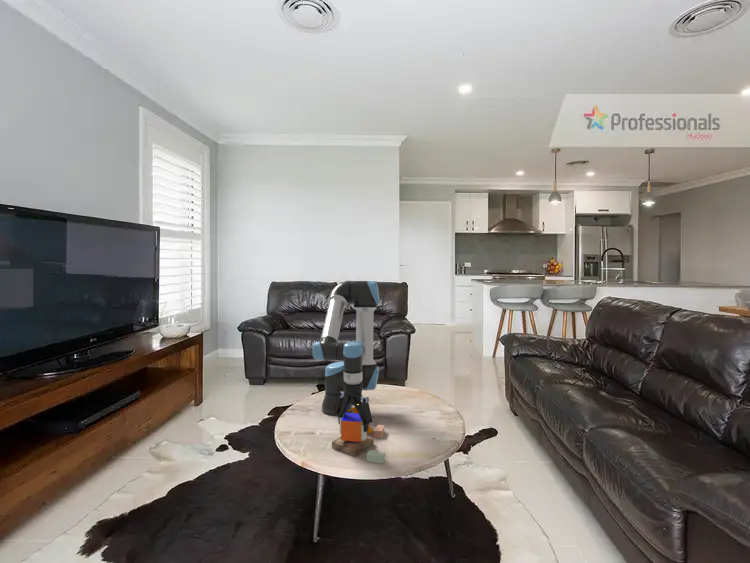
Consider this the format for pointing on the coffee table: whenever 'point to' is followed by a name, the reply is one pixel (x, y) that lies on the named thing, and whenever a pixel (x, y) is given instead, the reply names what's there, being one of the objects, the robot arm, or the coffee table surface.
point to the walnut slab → (352, 445)
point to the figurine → (358, 413)
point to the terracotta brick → (379, 431)
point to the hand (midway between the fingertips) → (353, 435)
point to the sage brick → (375, 456)
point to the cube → (351, 427)
